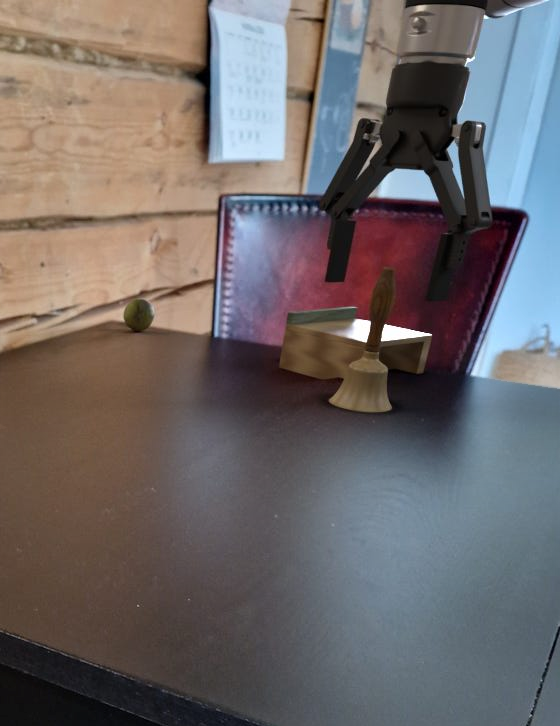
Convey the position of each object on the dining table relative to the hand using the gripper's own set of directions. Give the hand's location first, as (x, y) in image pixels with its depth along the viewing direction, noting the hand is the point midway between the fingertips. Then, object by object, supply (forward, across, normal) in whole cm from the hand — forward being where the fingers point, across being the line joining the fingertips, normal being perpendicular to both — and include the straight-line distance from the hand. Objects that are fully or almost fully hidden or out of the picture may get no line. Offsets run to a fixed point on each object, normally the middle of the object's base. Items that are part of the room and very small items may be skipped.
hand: (382, 291), depth 96 cm
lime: (+14, -50, +7) cm, 52 cm away
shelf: (+14, -14, +16) cm, 25 cm away
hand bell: (+14, 0, 0) cm, 14 cm away
